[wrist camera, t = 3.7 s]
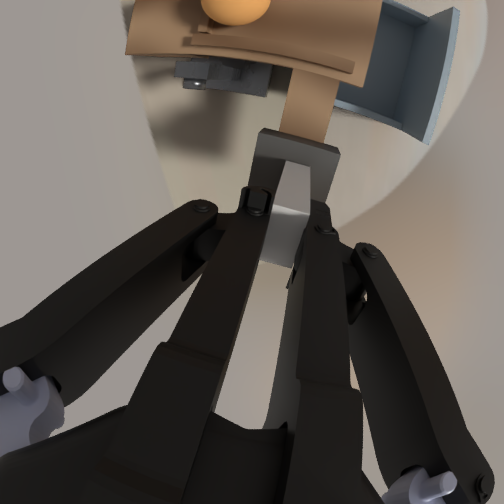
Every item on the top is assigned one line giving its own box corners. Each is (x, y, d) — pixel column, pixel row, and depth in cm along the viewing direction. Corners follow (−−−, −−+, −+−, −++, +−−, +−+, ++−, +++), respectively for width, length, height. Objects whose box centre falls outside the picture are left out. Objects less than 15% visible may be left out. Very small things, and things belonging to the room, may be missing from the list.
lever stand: (214, -28, 16) (173, -64, 8) (293, -22, 16) (284, -67, 8) (190, 85, 24) (138, 91, 16) (266, 96, 24) (244, 102, 16)
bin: (322, -8, 16) (327, -45, 9) (419, 26, 16) (460, 10, 8) (298, 94, 23) (295, 97, 16) (394, 125, 23) (428, 145, 15)
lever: (173, -17, 14) (129, -38, 9) (370, 7, 13) (392, -20, 8) (148, 149, 25) (103, 174, 19) (321, 188, 24) (324, 227, 18)
